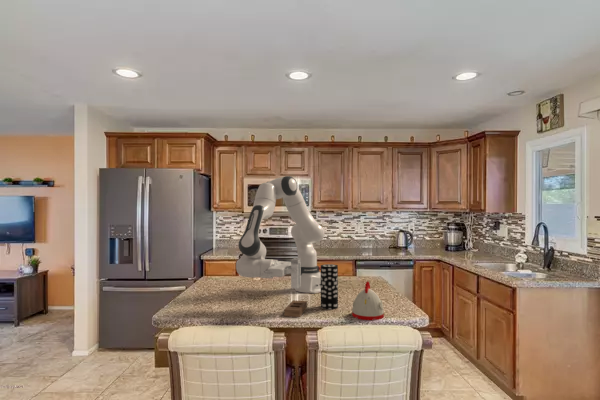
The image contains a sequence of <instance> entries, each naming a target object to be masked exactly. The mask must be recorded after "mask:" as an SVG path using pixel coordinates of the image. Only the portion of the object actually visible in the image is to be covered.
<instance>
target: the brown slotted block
mask: <svg viewBox="0 0 600 400" xmlns="http://www.w3.org/2000/svg"><path fill="white" fill-rule="evenodd" d="M307 308H308V300H295V299H294V300H292V301H290V303H289V304H288V305H287V306H286V307H285V308H284V309H283V311H284V314H283V315H284V317H293V318H294V317H295V318H301V317H302V315H303V314H304V312H305V311H306V310H307Z"/></svg>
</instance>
